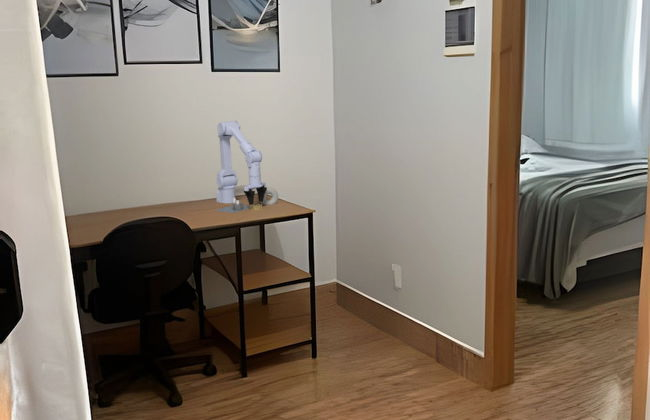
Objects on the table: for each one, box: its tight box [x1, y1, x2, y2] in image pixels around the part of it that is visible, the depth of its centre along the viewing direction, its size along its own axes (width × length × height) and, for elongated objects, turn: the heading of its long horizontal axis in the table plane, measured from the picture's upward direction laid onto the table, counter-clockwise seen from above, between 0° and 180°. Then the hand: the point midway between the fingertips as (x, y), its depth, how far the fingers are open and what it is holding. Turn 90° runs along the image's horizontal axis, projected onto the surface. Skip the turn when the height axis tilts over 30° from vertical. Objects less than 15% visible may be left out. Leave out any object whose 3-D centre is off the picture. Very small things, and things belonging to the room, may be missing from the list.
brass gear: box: [249, 203, 263, 211], centre depth 312 cm, size 6×6×4 cm
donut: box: [260, 187, 279, 206], centre depth 323 cm, size 10×3×10 cm, turn 109°
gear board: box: [214, 197, 251, 214], centre depth 314 cm, size 13×16×6 cm
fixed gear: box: [231, 202, 245, 211], centre depth 312 cm, size 5×5×3 cm
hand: (256, 203), depth 312 cm, fingers open, 7 cm apart
